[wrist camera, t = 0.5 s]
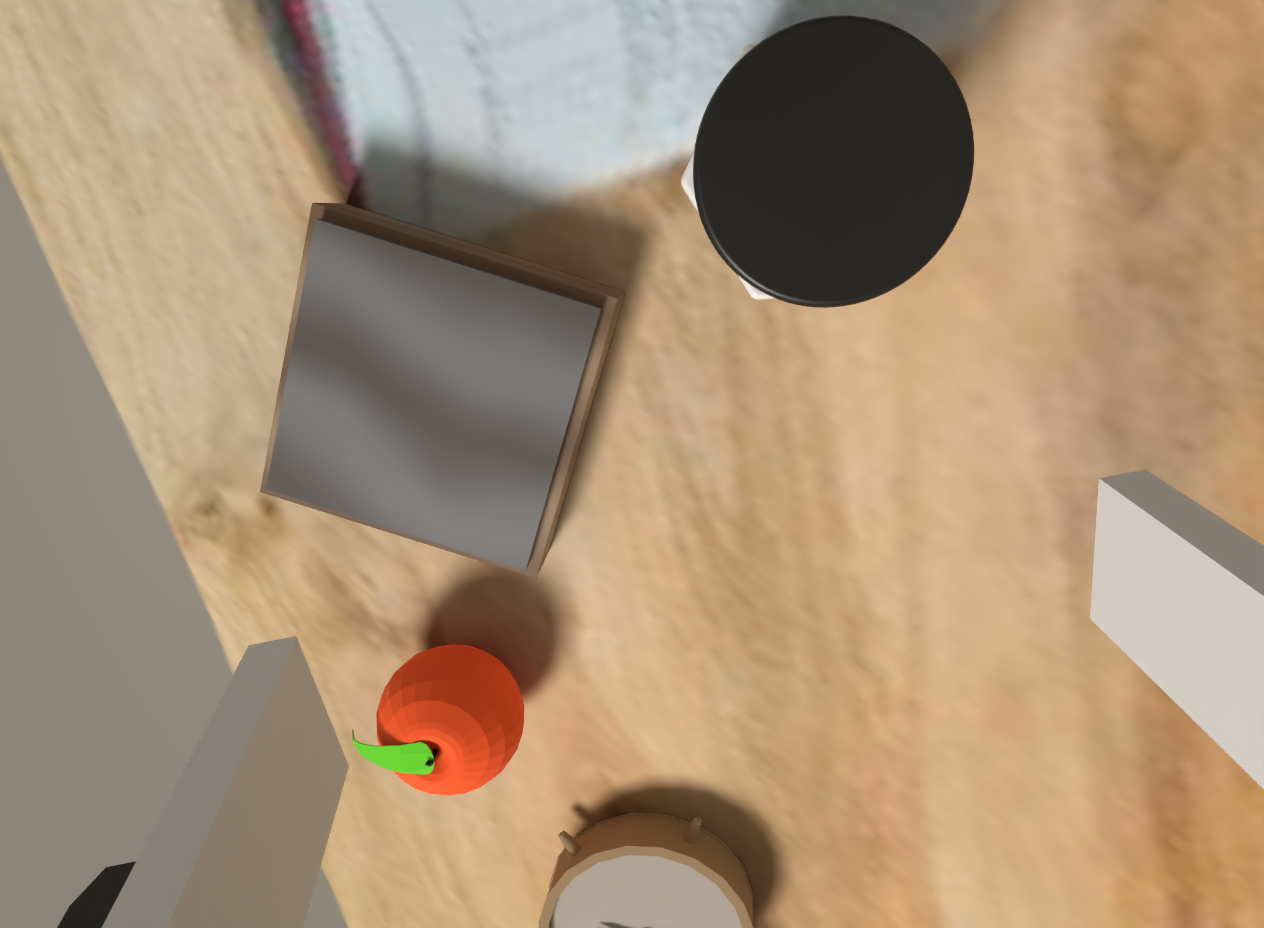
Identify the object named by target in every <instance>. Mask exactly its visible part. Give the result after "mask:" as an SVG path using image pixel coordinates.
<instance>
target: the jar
mask: <svg viewBox="0 0 1264 928" xmlns="http://www.w3.org/2000/svg"><path fill="white" fill-rule="evenodd" d="M973 165H974V139H973V130H972V124H971V119H970V115H969V112H968V108H967V105H966V102H965V100H964V97H963V95H962V92H961V90H960V88H959V86H958V84H957V82H956V80H955V79H954V77H953V76H952V74H951V73H950V71H949V70H948V68H947V67H946V66H945V64H944V63H943V62H942V61H941V60H940V58H939V57H938V56H937V55H936V54H935V53H934V52H933V51H932V50H931V49H930V48H929V47H928V46H926V45H925V44H924V43H922V42H921V41H920V40H918V39H917V38H916V37H914V36H912V35H911V34H909V33H907V32H906V31H904V30H902V29H900V28H898V27H895V26H893V25H891V24H888V23H885V22H882V21H879V20H875V19H870V18H865V17H858V16H828V17H821V18H815V19H811V20H807V21H803V22H800V23H797V24H794V25H792V26H789V27H787V28H785V29H782V30H780V31H778V32H777V33H775V34H773V35H771V36H769V37H768V38H766V39H765V40H763V41H762V42H760V43H759V44H752V45H748V46H746V47H745V48H744V49H743V51H742V53H741V55H740V57H739V59H738V61H737V63H736V64H735V65H734V66H733V67H732V69H731V70H730V71H729V72H728V73H727V75H726V76H725V77H724V79H723V80H722V82H721V83H720V84H719V86H718V87H717V89H716V91H715V93H714V94H713V96H712V98H711V100H710V102H709V104H708V106H707V108H706V110H705V113H704V115H703V118H702V121H701V124H700V127H699V131H698V134H697V139H696V144H695V150H694V153H693V155H692V157H691V159H690V162H689V164H688V166H687V168H686V170H685V172H684V174H683V176H682V178H681V186H682V188H683V189H684V191H685V192H686V194H687V196H688V197H689V199H690V200H691V202H692V203H693V205H694V207H695V208H696V210H697V211H698V213H699V215H700V218H701V221H702V224H703V226H704V229H705V231H706V233H707V235H708V237H709V239H710V241H711V243H712V244H713V246H714V247H715V249H716V251H717V252H718V254H719V255H720V256H721V257H722V259H723V260H724V261H725V262H726V264H727V265H728V266H729V267H730V268H731V269H732V270H733V271H734V272H735V273H736V274H737V275H738V277H739V278H740V280H741V281H742V283H743V285H744V286H745V288H746V289H747V291H748V293H749V294H750V296H751V297H752V298H754V299H773V298H776V299H779V300H781V301H784V302H788V303H792V304H796V305H801V306H807V307H823V308H826V307H840V306H847V305H852V304H857V303H860V302H864V301H867V300H870V299H873V298H876V297H878V296H880V295H883V294H885V293H887V292H889V291H891V290H893V289H894V288H896V287H898V286H899V285H901V284H903V283H904V282H905V281H907V280H908V279H910V278H911V277H912V276H914V275H915V274H916V273H917V272H918V271H920V270H921V269H922V268H923V267H924V266H925V265H926V264H927V263H928V262H929V261H930V260H931V259H932V258H933V257H934V256H935V255H936V253H937V252H938V251H939V250H940V248H941V247H942V246H943V244H944V243H945V242H946V240H947V239H948V237H949V235H950V234H951V232H952V231H953V229H954V227H955V225H956V223H957V221H958V219H959V217H960V215H961V212H962V210H963V208H964V205H965V202H966V199H967V196H968V193H969V189H970V184H971V179H972V173H973Z"/></svg>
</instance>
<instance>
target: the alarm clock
mask: <svg viewBox="0 0 1264 928" xmlns="http://www.w3.org/2000/svg"><path fill="white" fill-rule="evenodd" d="M701 822H702V820H701V819H700V818H699V817H695V818H694V819H693V821H692V822H690V821H687V820H684V819H680V818H677V817H674V816H670V815H667V814H657V813H629V814H625V815H621V816H617V817H613V818H609V819H605V820H601V821H599V822H598V823H596V824H594V825H593V826H591V827H589V828H588V829H586V830H584V831H583V832H581V833H579V834H578V835H576V836H575V837H574V838H573V837H572V836H570V835H569V834H568V833H567V832H565V831H562V832H561V833H560V834H559V838H560V839H561V841H562V843H563V844H564V846H565V847H566V848H565V850H564V851H563V852H562V853H561V854H560V856H559V857H558V860H557V863H556V866H555V869H554V872H553V875H552V878H551V881H550V885H549V892H548V895H547V898H546V901H545V904H544V907H543V910H542V914H541V917H540V920H539V928H754V925H753V891H752V889H751V886H750V883H749V880H748V878H747V875H746V872H745V869H744V867H743V864H742V863H741V862H740V860H739V859H738V858H737V857H736V855H735V854H734V853H733V852H732V850H731V849H730V848H729V847H728V846H727V844H726V843H725V842H724V841H723V840H722V839H720V838H718V837H717V836H715V835H714V834H712V833H711V832H709V831H707V830H706V829H704V828H703V827H701Z"/></svg>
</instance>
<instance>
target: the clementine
mask: <svg viewBox="0 0 1264 928" xmlns="http://www.w3.org/2000/svg"><path fill="white" fill-rule="evenodd" d="M523 724H524V704H523V700H522V697H521V693H520V690H519V687H518V685H517V683H516V681H515V679H514V677H513V676H512V674H511V672H510V671H509V669H508V668H507V667H506V666H505V665H504V664H503V663H502V662H501V661H500V660H499V659H497V658H496V657H494V656H493V655H491V654H489V653H488V652H486V651H484V650H481V649H478V648H476V647H473V646H470V645H459V644H450V645H443V646H437V647H434V648H430V649H428V650H426V651H423V652H421V653H419V654H416V655H415V656H413V657H412V658H411V659H410V660H409V661H407V662H406V663H405V664H404V665H403V666H402V667H400V668H399V669H398V670H397V671H396V672H395V673H394V675H393V676H392V678H391V679H390V681H389V682H388V684H387V685H386V687H385V689H384V692H383V694H382V697H381V699H380V703H379V707H378V710H377V737H378V743H379V746H373V745H366V744H362V743H359V742H358V741H356V740H355V739H354V732H353V730H352V733H353V742H354V745H355V747H356V748H357V750H358V751H359V753H360V754H361V755H362V756H363V757H365V758H366V759H368V760H369V761H371V762H373V763H375V764H376V765H378V766H380V767H383V768H386V769H389V770H391V771H394V772H395V773H396V774H397V775H398V776H399V777H400V778H401V779H402V780H403V781H404V782H405V783H407V784H409V785H410V786H412V787H414V788H415V789H418V790H421V791H424V792H427V793H430V794H439V795H454V794H462V793H467V792H469V791H472V790H474V789H477V788H480V787H481V786H483V785H484V784H486V783H487V782H489V781H490V780H491V779H493V778H494V777H495V776H497V775H498V774H499V773H500V772H502V770H503V769H504V768H505V766H506V765H507V763H508V762H509V761H510V759H511V758H512V756H513V755H514V753H515V751H516V750H517V748H518V745H519V742H520V739H521V736H522V732H523Z"/></svg>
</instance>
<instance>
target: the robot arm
mask: <svg viewBox="0 0 1264 928" xmlns="http://www.w3.org/2000/svg"><path fill="white" fill-rule="evenodd" d="M1090 619H1091V620H1092V621H1093V622H1094V623H1095V624H1096V625H1097V626H1098V627H1099V628H1100V629H1101V630H1102V631H1103V632H1104V633H1105V634H1106V635H1107V636H1108V637H1109V638H1110V639H1111V640H1112V641H1113V642H1114V643H1115V644H1117V645H1118V646H1119V647H1120V648H1121V649H1122V650H1123V651H1124V652H1125V653H1126V654H1127V655H1128V656H1129V657H1130V658H1131V659H1132V660H1133V661H1134V662H1135V663H1136V664H1137V665H1138V666H1139V667H1140V668H1141V669H1142V670H1143V671H1144V672H1145V673H1146V674H1147V675H1148V676H1149V677H1150V678H1151V679H1152V680H1153V681H1154V682H1155V683H1156V684H1157V685H1158V686H1159V687H1160V688H1161V689H1162V690H1163V691H1164V692H1165V693H1166V694H1167V695H1168V696H1169V697H1170V698H1171V699H1172V700H1173V701H1175V702H1176V703H1177V704H1178V705H1179V706H1180V707H1181V708H1182V709H1183V710H1184V711H1185V712H1186V713H1187V714H1188V715H1189V716H1190V717H1191V718H1192V719H1193V720H1194V721H1195V722H1196V723H1197V724H1198V725H1199V726H1200V727H1201V728H1202V729H1203V730H1204V731H1205V732H1206V733H1207V734H1208V735H1209V736H1210V737H1211V738H1212V739H1213V740H1214V741H1215V742H1216V743H1217V744H1218V745H1219V746H1220V747H1221V748H1222V749H1223V750H1224V751H1225V752H1226V753H1227V754H1228V755H1229V756H1230V757H1231V758H1233V759H1234V760H1235V761H1236V762H1237V763H1238V764H1239V765H1240V766H1241V767H1242V768H1243V769H1244V770H1245V771H1246V772H1247V773H1248V774H1249V775H1250V776H1251V777H1252V778H1253V779H1254V780H1255V781H1256V782H1257V783H1258V784H1259V785H1260V786H1261V787H1262V788H1263V789H1264V546H1263V545H1261V544H1260V543H1258V542H1257V541H1255V540H1254V539H1252V538H1251V537H1249V536H1248V535H1246V534H1244V533H1243V532H1241V531H1240V530H1238V529H1237V528H1235V527H1234V526H1232V525H1230V524H1229V523H1227V522H1226V521H1224V520H1223V519H1221V518H1220V517H1218V516H1217V515H1215V514H1213V513H1212V512H1210V511H1209V510H1207V509H1206V508H1204V507H1203V506H1201V505H1199V504H1198V503H1196V502H1195V501H1193V500H1192V499H1190V498H1189V497H1187V496H1186V495H1184V494H1182V493H1181V492H1179V491H1178V490H1176V489H1175V488H1173V487H1172V486H1170V485H1168V484H1167V483H1165V482H1164V481H1162V480H1161V479H1159V478H1158V477H1156V476H1155V475H1153V474H1151V473H1150V472H1148V471H1147V470H1140V471H1135V472H1130V473H1125V474H1120V475H1115V476H1109V477H1104V478H1099V489H1098V505H1097V520H1096V536H1095V552H1094V568H1093V583H1092V599H1091V615H1090ZM348 767H349V766H348V763H347V761H346V758H345V756H344V753H343V751H342V748H341V746H340V743H339V741H338V738H337V736H336V733H335V731H334V728H333V726H332V723H331V721H330V719H329V716H328V714H327V711H326V709H325V706H324V704H323V701H322V699H321V696H320V694H319V691H318V689H317V686H316V684H315V681H314V679H313V676H312V674H311V671H310V669H309V666H308V664H307V661H306V659H305V656H304V654H303V651H302V649H301V646H300V644H299V642H298V639H297V637H296V636H295V637H289V638H284V639H279V640H274V641H269V642H264V643H259V644H254V645H249V646H248V648H247V650H246V652H245V654H244V655H243V657H242V659H241V661H240V663H239V665H238V667H237V669H236V671H235V673H234V675H233V677H232V679H231V681H230V682H229V684H228V686H227V688H226V690H225V692H224V694H223V696H222V698H221V700H220V702H219V704H218V706H217V707H216V709H215V711H214V713H213V715H212V717H211V719H210V721H209V723H208V725H207V727H206V728H205V730H204V733H203V734H202V736H201V738H200V740H199V742H198V744H197V746H196V748H195V750H194V751H193V753H192V755H191V757H190V759H189V761H188V763H187V765H186V767H185V769H184V771H183V773H182V775H181V776H180V778H179V780H178V782H177V784H176V786H175V788H174V790H173V792H172V794H171V796H170V798H169V799H168V801H167V803H166V805H165V807H164V809H163V811H162V813H161V815H160V817H159V819H158V821H157V823H156V824H155V826H154V829H153V830H152V832H151V834H150V836H149V838H148V840H147V842H146V844H145V846H144V848H143V849H142V851H141V853H140V855H139V857H138V859H137V861H136V862H131V863H126V864H121V865H116V866H111V867H106V868H105V869H104V870H103V871H102V872H101V873H100V875H98V877H97V878H96V879H95V880H94V881H93V882H92V883H91V884H90V885H89V886H88V887H87V888H86V889H85V890H84V891H83V892H82V894H81V895H80V896H79V897H78V898H77V899H76V900H75V901H74V902H73V903H72V904H71V905H70V906H69V908H68V910H67V912H66V913H65V915H64V917H63V919H62V920H61V922H60V924H59V925H58V927H57V928H303V926H304V923H305V919H306V915H307V912H308V908H309V905H310V901H311V898H312V894H313V891H314V887H315V884H316V880H317V877H318V873H319V870H320V866H321V863H322V859H323V855H324V852H325V848H326V845H327V841H328V838H329V834H330V831H331V827H332V824H333V820H334V817H335V813H336V810H337V806H338V802H339V799H340V795H341V792H342V788H343V785H344V781H345V778H346V774H347V771H348Z"/></svg>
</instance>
